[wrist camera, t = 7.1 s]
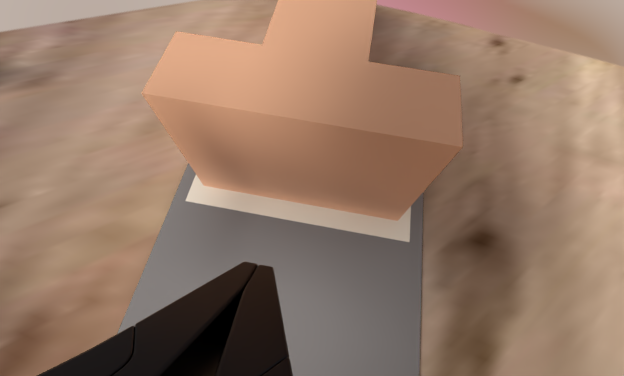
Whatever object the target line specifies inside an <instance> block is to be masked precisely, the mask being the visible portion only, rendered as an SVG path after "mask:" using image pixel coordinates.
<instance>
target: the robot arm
mask: <svg viewBox="0 0 624 376" xmlns="http://www.w3.org/2000/svg"><path fill="white" fill-rule="evenodd" d="M37 376H293V373H292V367H291V362H290V359H289V352H288V346H287V341H286V335H285V329H284V324H283V318H282V313H281V307H280V301H279V296H278V290H277V285H276V279H275V274H274V269H273V267H271V266H266V265H259V266H258V264H256V263H251V262H242V263H240V264H239V265H237V266H235V267H233V268H232V269H230V270H228V271H226V272H225V273H223V274H221V275H219V276H218V277H216V278H214V279H212V280H211V281H209V282H207V283H205V284H204V285H202V286H200V287H199V288H197V289H195V290H193V291H192V292H190V293H188V294H186V295H185V296H183V297H181V298H179V299H178V300H176V301H174V302H172V303H171V304H169V305H167V306H165V307H164V308H162V309H160V310H159V311H157V312H155V313H153V314H152V315H150V316H148V317H146V318H145V319H143V320H141V321H139V322H138V323H136V324H135V327H134V326H130V327H129V328H127V329H125V330H124V331H122V332H120V333H118V334H117V335H115V336H113V337H111V338H109V339H107V340H106V341H104V342H102V343H100V344H98V345H97V346H95V347H93V348H91V349H89V350H87V351H85V352H83V353H81V354H79V355H77V356H75V357H73V358H71V359H69V360H68V361H66V362H64V363H62V364H60V365H58V366H56V367H54V368H51V369H49V370H47V371H45V372H43V373H41V374H39V375H37Z"/></svg>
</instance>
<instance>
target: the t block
mask: <svg viewBox="0 0 624 376" xmlns="http://www.w3.org/2000/svg"><path fill="white" fill-rule="evenodd" d="M376 3H377V0H278V3H277V5H276V8H275V11H274V14H273V16H272V19H271V22H270V24H269V27H268V30H267V33H266V35H265V38H264V41H263V44H262V45H260V44H254V43H247V42H241V41H235V40H228V39H222V38H216V37H209V36H203V35H196V34H190V33H184V32H177V31H176V32H175V34H174V36H173V38H172V40H171V41H170V43H169V45H168V47H167V48H166V50H165V52H164V54H163V56H162V57H161V59H160V61H159V63H158V65H157V66H156V68H155V70H154V72H153V73H152V75H151V77H150V79H149V81H148V82H147V84H146V86H145V88H144V89H143V91H142V95H143V96H144V98H145V99H146V101H147V102H148V104H149V105H150V107H151V108H152V109H153V111H154V112H155V114H156V115H157V117H158V118H159V120H160V121H161V123H162V124H163V126H164V127H165V129H166V130H167V132H168V133H169V135H170V136H171V138H172V139H173V141H174V142H175V144H176V145H177V147H178V148H179V150H180V151H181V153H182V154H183V156H184V157H185V158H186V160H187V161H188V163H189V164H190V166H191V167H192V169H193V170H194V172H195V173H196V175H197V176H198V178H199V179H200V181H201V182H202V184H203V185H204V186H208V187H214V188H219V189H225V190H230V191H236V192H241V193H247V194H252V195H258V196H263V197H269V198H274V199H280V200H285V201H291V202H296V203H302V204H308V205H313V206H319V207H324V208H330V209H335V210H341V211H346V212H352V213H357V214H363V215H368V216H374V217H379V218H385V219H390V220H396V221H398V220H399V219H400V218H401V217H402V215H403V214H404V213H405V212H406V211H407V210H408V209H409V207H410V206H411V205H412V204H413V203H414V202H415V201H416V200H417V198H418V197H419V196H420V195H421V194H422V193H423V192H424V191H425V189H426V188H427V187H428V186H429V185H430V184H431V183H432V182H433V180H434V179H435V178H436V177H437V176H438V175H439V174H440V173H441V171H442V170H443V169H444V168H445V167H446V166H447V165H448V163H449V162H450V161H451V160H452V159H453V158H454V157H455V156H456V154H457V153H458V152H459V151H460V150H461V149H462V148H463V134H462V112H461V89H460V76H458V75H452V74H445V73H439V72H432V71H426V70H420V69H413V68H407V67H401V66H394V65H388V64H381V63H375V62H369V54H370V47H371V39H372V32H373V25H374V18H375V11H376Z"/></svg>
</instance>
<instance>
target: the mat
mask: <svg viewBox="0 0 624 376" xmlns="http://www.w3.org/2000/svg"><path fill="white" fill-rule="evenodd" d="M422 234H423V193H422V194H421V195H420V196H419V197H418V198H417V200H416V201H415V202H414V203H413V204H412V205H411V206H410V207H409V209H408V210H407V211H406V212H405V213H404V214H403V215H402V217H401V218H400V219H399V220H398V221H396V220H390V219H385V218H379V217H374V216H368V215H363V214H357V213H352V212H346V211H341V210H335V209H330V208H324V207H319V206H313V205H308V204H302V203H296V202H291V201H285V200H280V199H274V198H269V197H263V196H258V195H252V194H247V193H241V192H236V191H230V190H225V189H219V188H214V187H208V186H204V185H203V184H202V182H201V181H200V179H199V178H198V176H197V175H196V173H195V172H194V170H193V169H192V167H191V166H190V164H189V163H188V165H187V168H186V170H185V173H184V175H183V177H182V180H181V182H180V185H179V187H178V189H177V192H176V194H175V197H174V199H173V201H172V204H171V206H170V209H169V211H168V213H167V216H166V218H165V221H164V223H163V225H162V228H161V230H160V233H159V235H158V237H157V240H156V242H155V244H154V247H153V249H152V252H151V254H150V256H149V259H148V261H147V264H146V266H145V268H144V271H143V273H142V276H141V278H140V280H139V283H138V285H137V288H136V290H135V292H134V295H133V297H132V300H131V302H130V304H129V307H128V309H127V312H126V314H125V316H124V319H123V321H122V324H121V326H120V328H119V331H118V333H120V332H122V331H124V330H125V329H127V328H129V327H130V326H134V327H135V324H136V323H138V322H139V321H141V320H143V319H145V318H146V317H148V316H150V315H152V314H153V313H155V312H157V311H159V310H160V309H162V308H164V307H165V306H167V305H169V304H171V303H172V302H174V301H176V300H178V299H179V298H181V297H183V296H185V295H186V294H188V293H190V292H192V291H193V290H195V289H197V288H199V287H200V286H202V285H204V284H205V283H207V282H209V281H211V280H212V279H214V278H216V277H218V276H219V275H221V274H223V273H225V272H226V271H228V270H230V269H232V268H233V267H235V266H237V265H239V264H240V263H242V262H251V263H256V264H258V266H259V265H266V266H271V267H273V269H274V274H275V279H276V285H277V290H278V296H279V301H280V307H281V313H282V318H283V324H284V329H285V335H286V341H287V346H288V352H289V359H290V362H291V367H292V373H293V376H419V368H420V323H421V278H422ZM118 333H117V334H118Z"/></svg>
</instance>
